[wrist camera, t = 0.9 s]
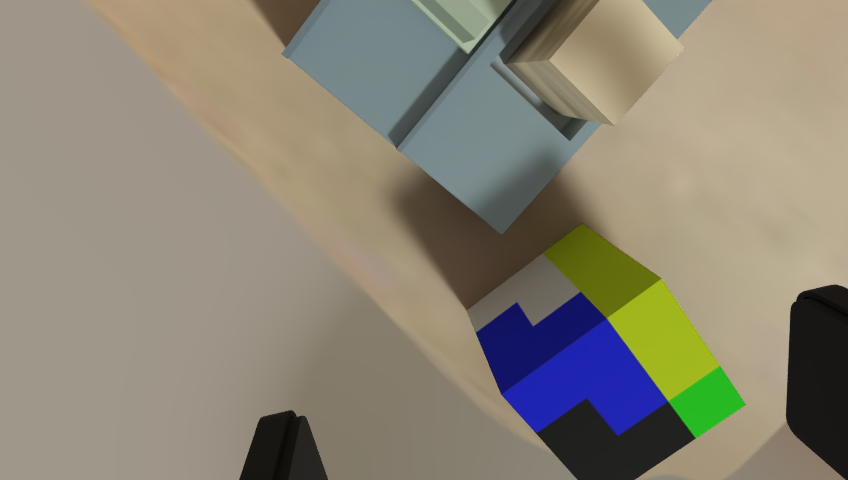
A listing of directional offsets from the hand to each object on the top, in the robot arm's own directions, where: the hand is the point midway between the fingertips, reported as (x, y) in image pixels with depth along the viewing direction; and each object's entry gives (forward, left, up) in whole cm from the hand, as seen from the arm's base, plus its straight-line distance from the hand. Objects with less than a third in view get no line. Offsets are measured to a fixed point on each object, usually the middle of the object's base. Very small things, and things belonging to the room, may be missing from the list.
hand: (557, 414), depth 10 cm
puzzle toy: (+2, +14, -24) cm, 29 cm away
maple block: (-10, +1, -24) cm, 26 cm away
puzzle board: (-9, -3, -24) cm, 26 cm away
